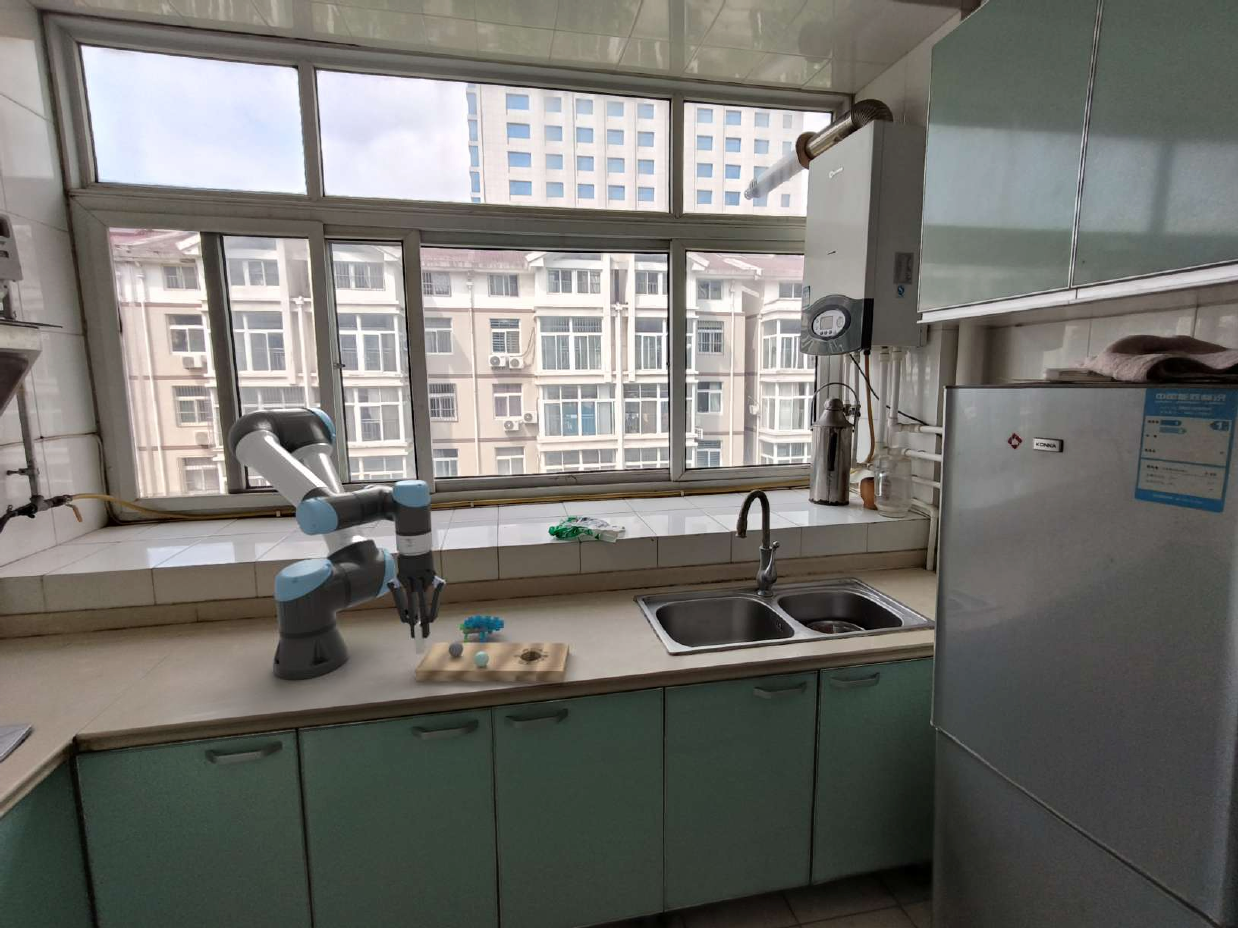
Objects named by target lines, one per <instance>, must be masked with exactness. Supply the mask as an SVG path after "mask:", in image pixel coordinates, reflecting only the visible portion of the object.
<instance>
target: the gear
mask: <svg viewBox="0 0 1238 928" xmlns="http://www.w3.org/2000/svg"><path fill="white" fill-rule="evenodd" d="M504 628H505V620H503V619H500V617H499V616H494V617H493V618H492V619H491V615H490V614H489V615H484V617H482V616H481V615H480V614H479V615H475V616H474V617H472V616H469V617H468V618H467V619H464V622H462V623H460V625H459V630H461V631H462V632H463V633H462V634H464V638H463V643H468V637H469V635H471V634H480V641H479V643H486V633H488V634H489V633H493V632H494V631H495V632H499V631H501V629H504Z"/></svg>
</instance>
